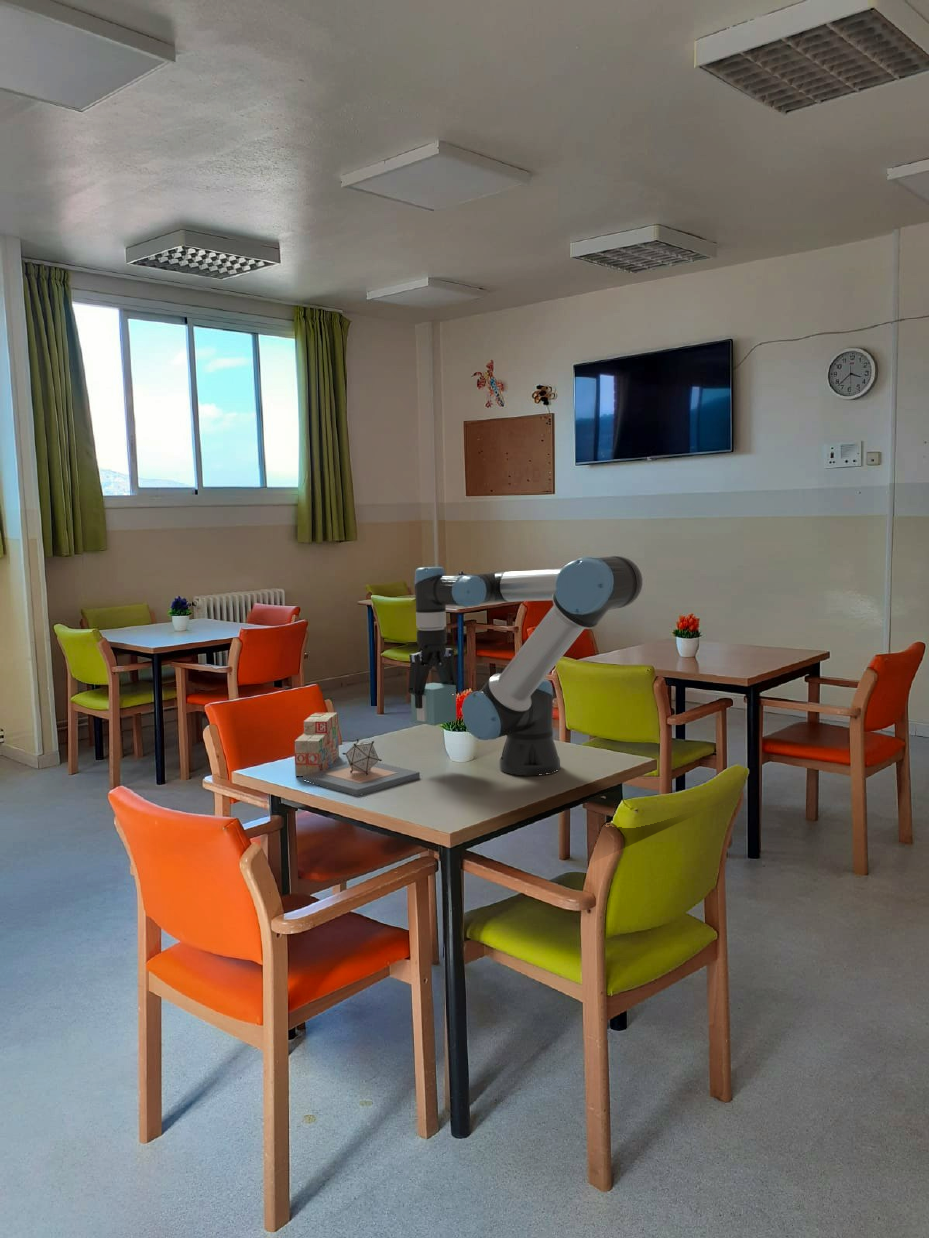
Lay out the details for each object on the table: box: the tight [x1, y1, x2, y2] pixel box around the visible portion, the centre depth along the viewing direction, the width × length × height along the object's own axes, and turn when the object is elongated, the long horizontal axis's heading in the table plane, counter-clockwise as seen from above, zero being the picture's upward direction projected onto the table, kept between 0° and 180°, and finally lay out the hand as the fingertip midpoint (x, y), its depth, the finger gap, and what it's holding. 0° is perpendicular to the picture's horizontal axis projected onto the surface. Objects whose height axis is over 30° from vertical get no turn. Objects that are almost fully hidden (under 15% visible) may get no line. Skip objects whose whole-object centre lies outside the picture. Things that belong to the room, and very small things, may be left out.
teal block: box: [410, 682, 458, 727], centre depth 243 cm, size 8×8×9 cm
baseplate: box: [302, 761, 421, 797], centre depth 233 cm, size 20×20×2 cm
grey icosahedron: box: [341, 738, 383, 775], centre depth 233 cm, size 9×8×10 cm
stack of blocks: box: [294, 712, 340, 776], centre depth 247 cm, size 21×6×12 cm, turn 175°
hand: (434, 717), depth 243 cm, fingers closed on teal block, 8 cm apart
